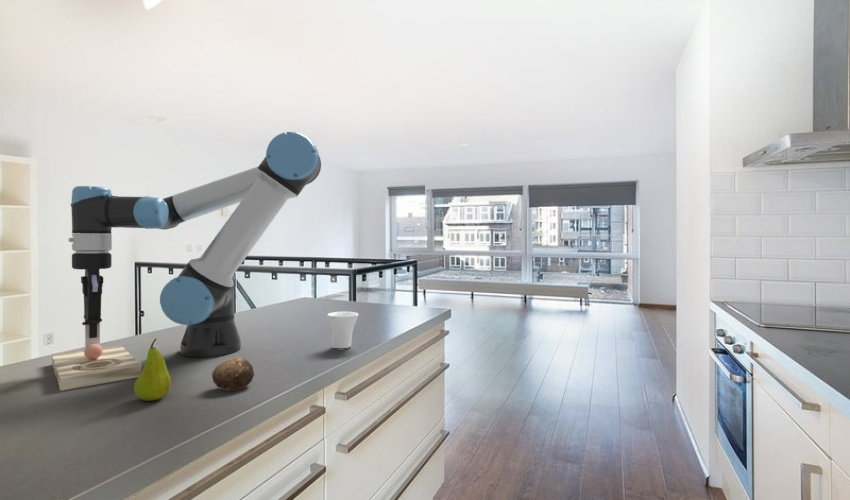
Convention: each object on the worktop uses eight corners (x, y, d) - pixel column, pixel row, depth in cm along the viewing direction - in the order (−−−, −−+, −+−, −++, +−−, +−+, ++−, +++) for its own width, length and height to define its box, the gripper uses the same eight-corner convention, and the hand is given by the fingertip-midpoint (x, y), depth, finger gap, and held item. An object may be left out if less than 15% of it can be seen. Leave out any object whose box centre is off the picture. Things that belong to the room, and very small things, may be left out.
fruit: (146, 393, 88) (146, 334, 88) (178, 393, 88) (177, 334, 88) (126, 405, 82) (126, 341, 81) (160, 405, 82) (160, 342, 82)
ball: (106, 343, 105) (107, 356, 104) (92, 348, 105) (93, 362, 103) (93, 340, 102) (94, 354, 100) (79, 346, 102) (80, 360, 100)
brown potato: (223, 364, 97) (227, 345, 94) (257, 377, 98) (262, 359, 95) (202, 392, 91) (206, 373, 87) (239, 406, 91) (244, 387, 88)
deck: (52, 364, 106) (52, 354, 106) (121, 354, 116) (121, 345, 116) (60, 390, 89) (60, 378, 89) (141, 376, 98) (141, 365, 98)
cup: (320, 349, 124) (320, 314, 124) (338, 342, 133) (338, 309, 132) (346, 353, 121) (347, 317, 120) (363, 345, 129) (364, 311, 129)
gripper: (69, 251, 106) (70, 347, 107) (74, 253, 96) (74, 359, 97) (107, 250, 111) (108, 342, 112) (115, 253, 101) (115, 353, 102)
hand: (92, 350), depth 104 cm, fingers closed
